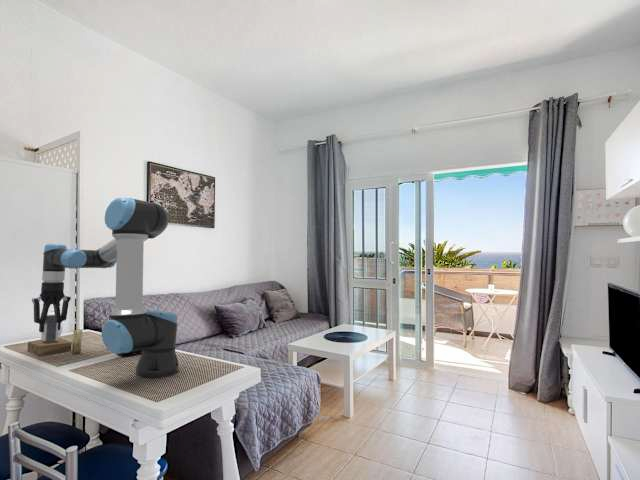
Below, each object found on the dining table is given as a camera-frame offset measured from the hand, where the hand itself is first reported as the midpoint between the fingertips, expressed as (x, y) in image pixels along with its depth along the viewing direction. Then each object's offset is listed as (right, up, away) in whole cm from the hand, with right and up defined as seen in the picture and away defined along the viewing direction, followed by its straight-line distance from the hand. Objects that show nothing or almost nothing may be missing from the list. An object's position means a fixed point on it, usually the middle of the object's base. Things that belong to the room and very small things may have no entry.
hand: (49, 339), depth 153 cm
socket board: (-7, -8, +10) cm, 15 cm away
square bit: (0, 0, 0) cm, 0 cm away
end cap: (+27, -10, +12) cm, 31 cm away
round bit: (+5, -9, +9) cm, 13 cm away
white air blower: (-17, -8, +26) cm, 32 cm away
